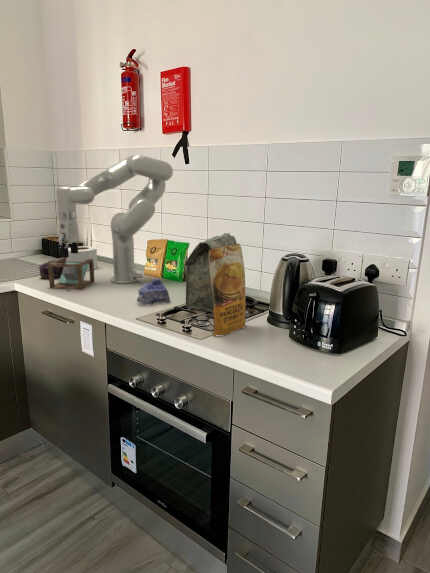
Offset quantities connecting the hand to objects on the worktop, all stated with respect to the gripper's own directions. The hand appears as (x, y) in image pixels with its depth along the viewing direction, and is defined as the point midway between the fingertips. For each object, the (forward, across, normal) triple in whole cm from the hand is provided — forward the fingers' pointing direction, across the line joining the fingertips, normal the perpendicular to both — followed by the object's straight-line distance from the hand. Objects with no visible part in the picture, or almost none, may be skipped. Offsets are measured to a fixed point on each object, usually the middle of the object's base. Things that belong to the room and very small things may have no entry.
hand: (69, 255), depth 193 cm
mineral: (+14, -18, -42) cm, 47 cm away
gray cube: (+9, +1, 0) cm, 9 cm away
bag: (+14, -17, -66) cm, 70 cm away
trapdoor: (+9, +3, 0) cm, 10 cm away
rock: (+14, +14, +15) cm, 25 cm away
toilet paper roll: (+14, +35, +10) cm, 39 cm away
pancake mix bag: (+14, -45, -74) cm, 88 cm away
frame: (+14, +1, 0) cm, 14 cm away
